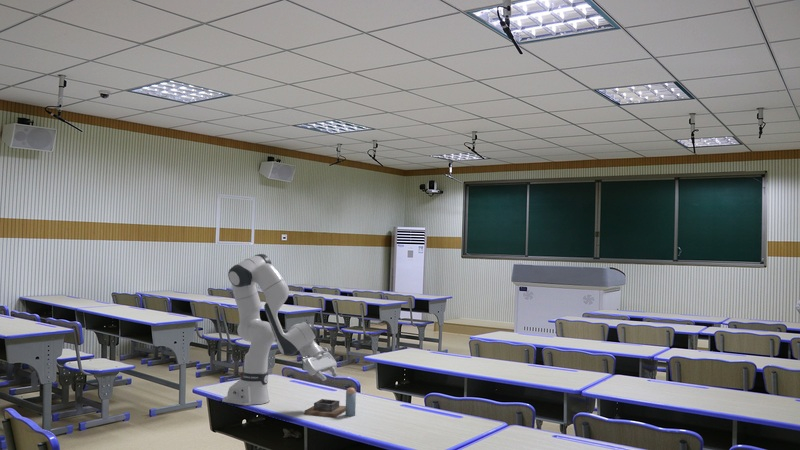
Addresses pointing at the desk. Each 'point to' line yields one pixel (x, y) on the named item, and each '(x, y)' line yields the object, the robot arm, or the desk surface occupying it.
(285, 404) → the desk surface
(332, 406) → the jig
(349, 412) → the peach-tipped grey cylinder
